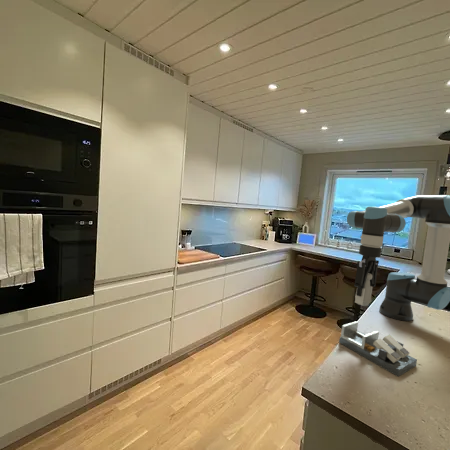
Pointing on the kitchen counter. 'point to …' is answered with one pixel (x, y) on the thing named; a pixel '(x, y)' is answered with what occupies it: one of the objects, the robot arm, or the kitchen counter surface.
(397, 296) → the robot arm
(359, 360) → the kitchen counter surface
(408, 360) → the grey mechanical fixture
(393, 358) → the rocker
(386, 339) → the rocker
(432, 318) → the kitchen counter surface
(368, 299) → the salt shaker
